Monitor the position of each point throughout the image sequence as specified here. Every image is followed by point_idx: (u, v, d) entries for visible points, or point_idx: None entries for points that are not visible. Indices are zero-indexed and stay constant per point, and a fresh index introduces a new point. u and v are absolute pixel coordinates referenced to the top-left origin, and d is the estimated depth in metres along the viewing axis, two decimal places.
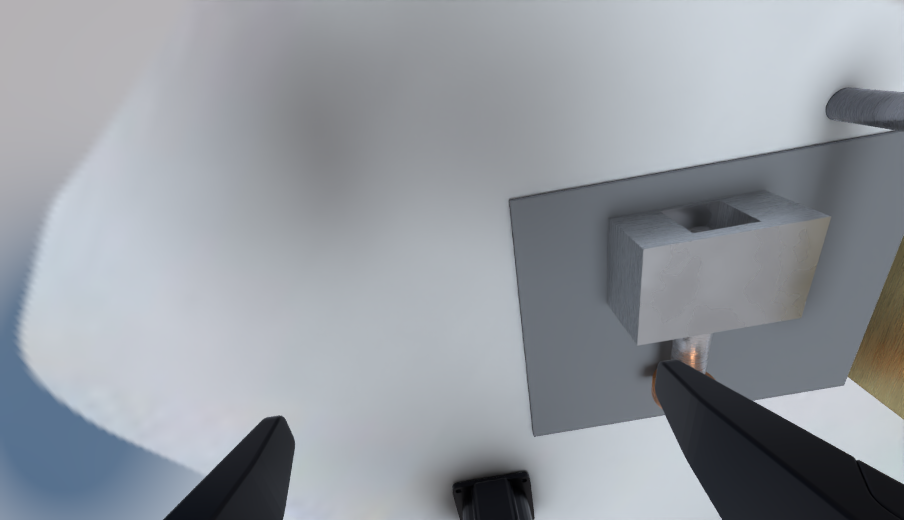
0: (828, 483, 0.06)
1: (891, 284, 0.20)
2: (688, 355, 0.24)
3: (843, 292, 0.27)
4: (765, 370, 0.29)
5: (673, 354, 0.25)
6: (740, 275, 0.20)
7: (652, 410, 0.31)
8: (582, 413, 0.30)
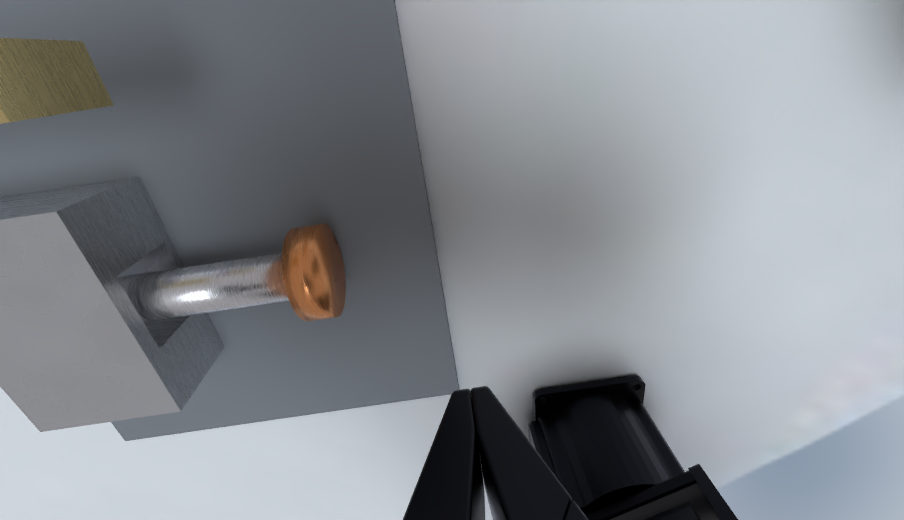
0: None
1: None
2: (222, 308, 0.16)
3: None
4: (325, 68, 0.15)
5: None
6: (23, 325, 0.15)
7: (420, 252, 0.19)
8: (419, 345, 0.21)
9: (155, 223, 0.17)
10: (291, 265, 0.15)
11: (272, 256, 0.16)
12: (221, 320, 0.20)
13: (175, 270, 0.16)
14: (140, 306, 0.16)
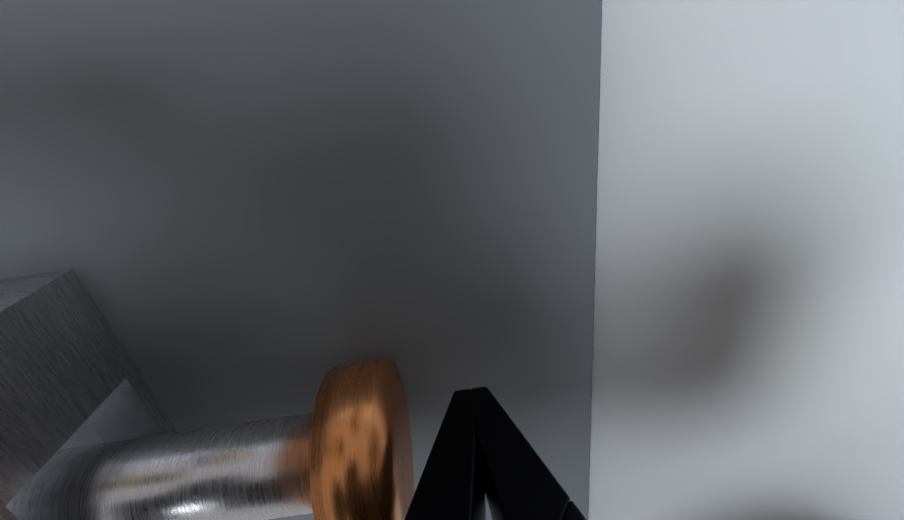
0: None
1: None
2: None
3: None
4: (439, 61, 0.07)
5: None
6: None
7: (565, 377, 0.11)
8: None
9: (105, 350, 0.09)
10: (329, 485, 0.07)
11: (287, 430, 0.08)
12: None
13: (101, 457, 0.08)
14: None
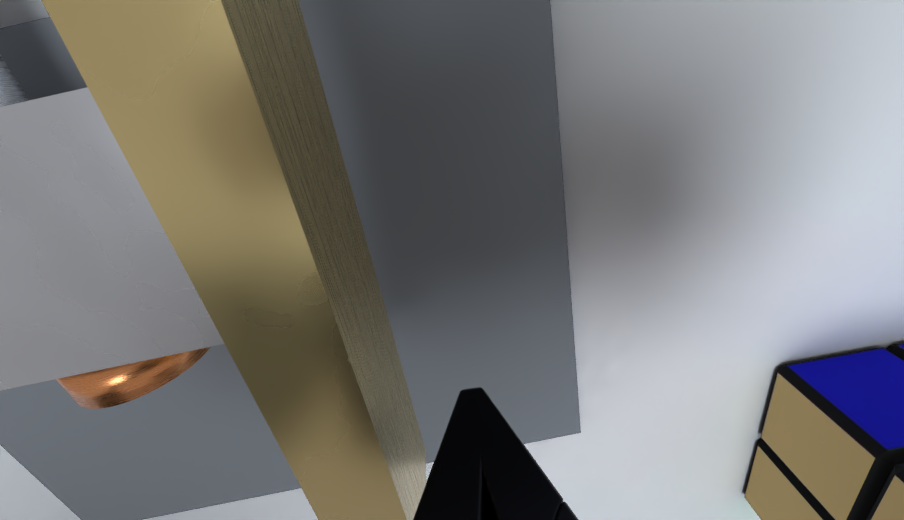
0: None
1: None
2: None
3: (499, 281, 0.15)
4: (429, 416, 0.18)
5: None
6: None
7: (269, 483, 0.19)
8: (149, 493, 0.19)
9: None
10: (142, 364, 0.11)
11: None
12: None
13: None
14: None
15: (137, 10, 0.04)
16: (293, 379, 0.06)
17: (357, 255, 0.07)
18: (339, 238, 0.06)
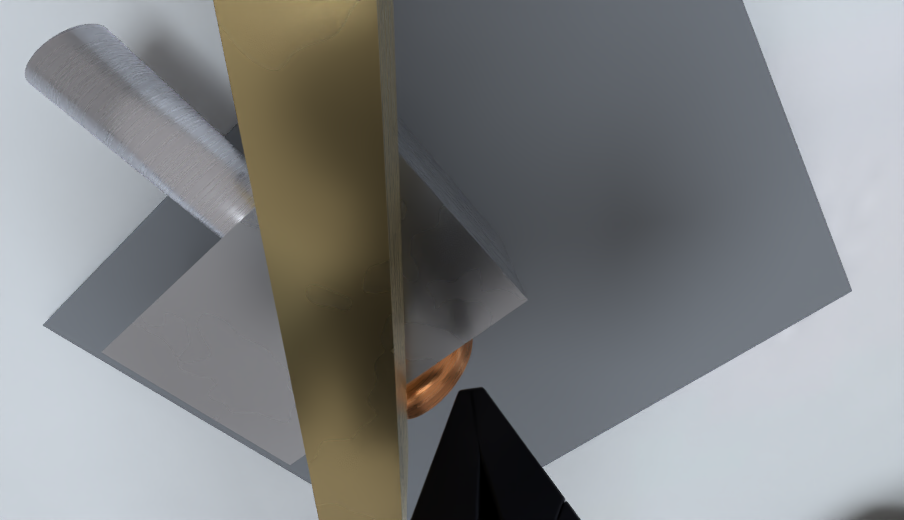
0: None
1: None
2: None
3: (707, 161, 0.13)
4: (674, 336, 0.17)
5: None
6: None
7: (541, 455, 0.19)
8: None
9: None
10: (439, 363, 0.12)
11: None
12: None
13: None
14: None
15: None
16: (334, 361, 0.06)
17: (398, 250, 0.07)
18: (394, 232, 0.06)
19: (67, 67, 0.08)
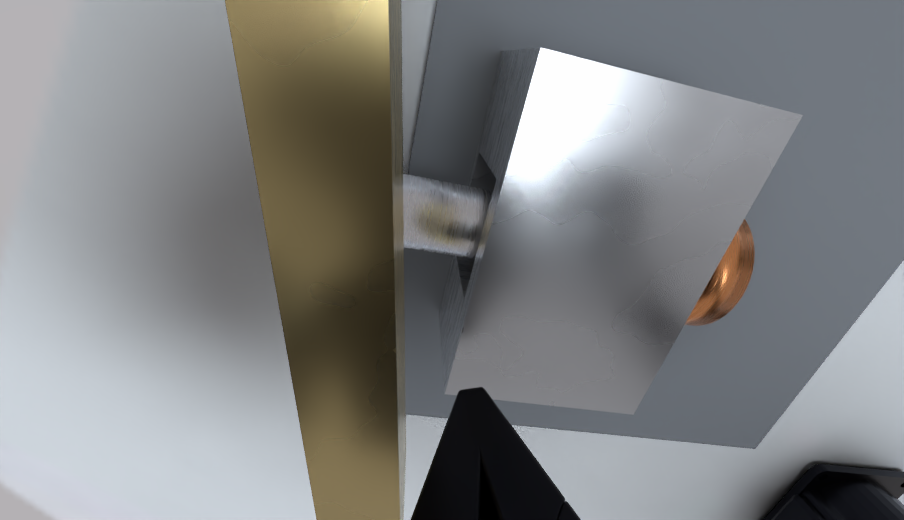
0: None
1: None
2: None
3: None
4: None
5: None
6: (587, 249, 0.10)
7: (860, 293, 0.16)
8: (768, 389, 0.18)
9: None
10: None
11: None
12: None
13: None
14: (478, 232, 0.10)
15: None
16: (335, 360, 0.06)
17: (401, 249, 0.07)
18: (399, 231, 0.06)
19: None
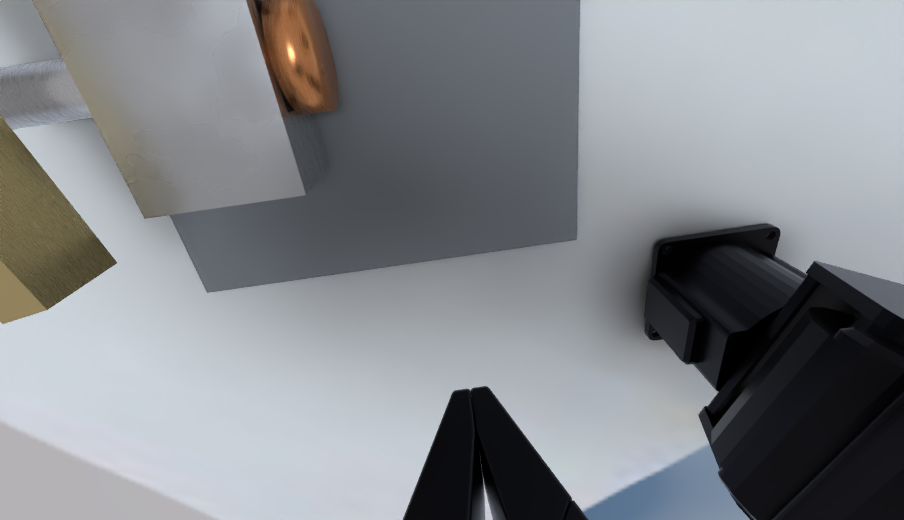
0: None
1: None
2: None
3: None
4: None
5: None
6: (144, 53, 0.12)
7: (561, 42, 0.17)
8: (543, 172, 0.19)
9: None
10: (272, 15, 0.13)
11: None
12: (330, 130, 0.18)
13: None
14: None
15: None
16: None
17: None
18: None
19: None
